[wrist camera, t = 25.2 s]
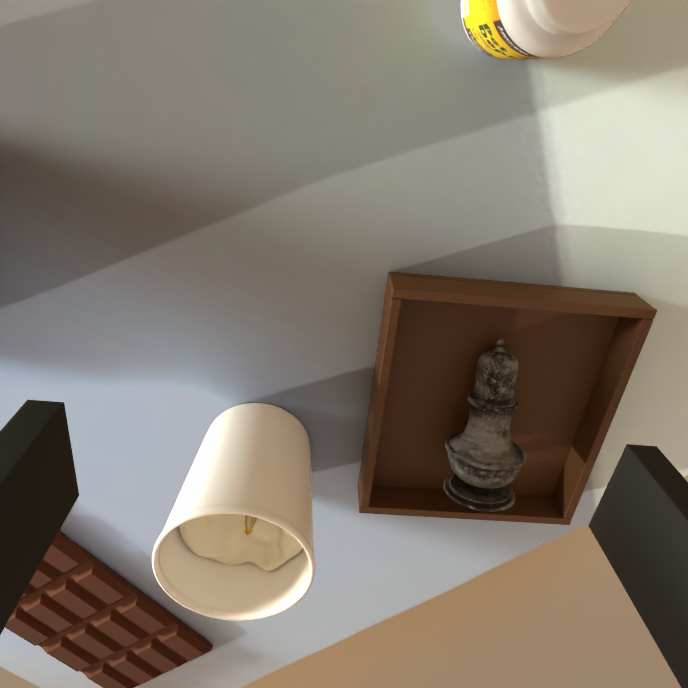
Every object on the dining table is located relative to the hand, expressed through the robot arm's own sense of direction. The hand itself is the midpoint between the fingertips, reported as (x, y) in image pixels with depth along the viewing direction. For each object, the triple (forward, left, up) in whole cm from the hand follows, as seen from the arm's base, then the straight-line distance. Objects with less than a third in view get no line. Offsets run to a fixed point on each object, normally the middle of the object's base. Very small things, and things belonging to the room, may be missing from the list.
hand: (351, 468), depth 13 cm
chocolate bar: (-38, -26, -24) cm, 52 cm away
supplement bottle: (+13, +8, -24) cm, 28 cm away
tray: (+6, -17, -24) cm, 30 cm away
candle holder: (-12, -15, -24) cm, 31 cm away
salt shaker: (+3, -22, -20) cm, 30 cm away
